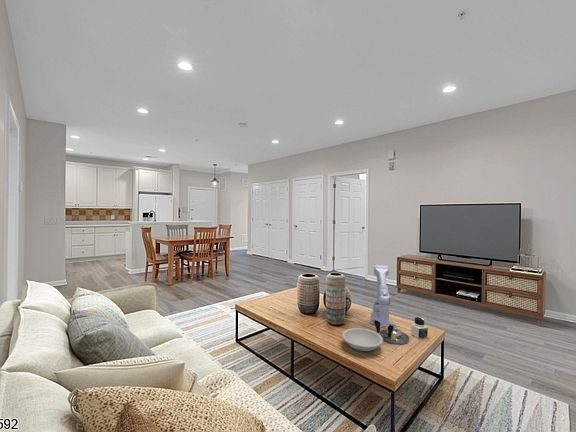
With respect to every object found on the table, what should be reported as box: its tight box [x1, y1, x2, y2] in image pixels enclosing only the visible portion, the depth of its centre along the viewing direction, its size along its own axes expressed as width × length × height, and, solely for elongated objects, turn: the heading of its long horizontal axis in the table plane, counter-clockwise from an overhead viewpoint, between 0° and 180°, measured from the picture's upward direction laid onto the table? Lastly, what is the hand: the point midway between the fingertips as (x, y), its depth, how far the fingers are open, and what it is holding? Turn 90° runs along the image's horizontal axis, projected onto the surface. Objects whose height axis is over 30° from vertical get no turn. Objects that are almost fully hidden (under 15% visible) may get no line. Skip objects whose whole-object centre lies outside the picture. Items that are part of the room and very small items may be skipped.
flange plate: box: [379, 328, 410, 346], centre depth 180 cm, size 18×18×2 cm
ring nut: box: [386, 325, 403, 341], centre depth 180 cm, size 9×16×3 cm, turn 167°
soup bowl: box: [341, 327, 384, 352], centre depth 168 cm, size 24×24×7 cm
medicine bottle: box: [410, 316, 429, 340], centre depth 183 cm, size 7×7×12 cm
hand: (383, 334), depth 179 cm, fingers open, 7 cm apart
